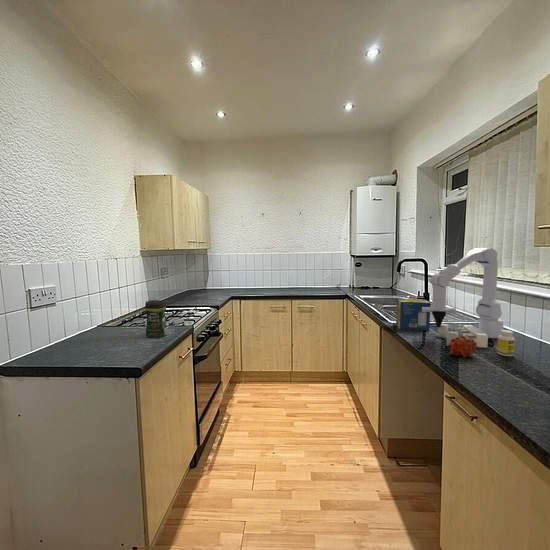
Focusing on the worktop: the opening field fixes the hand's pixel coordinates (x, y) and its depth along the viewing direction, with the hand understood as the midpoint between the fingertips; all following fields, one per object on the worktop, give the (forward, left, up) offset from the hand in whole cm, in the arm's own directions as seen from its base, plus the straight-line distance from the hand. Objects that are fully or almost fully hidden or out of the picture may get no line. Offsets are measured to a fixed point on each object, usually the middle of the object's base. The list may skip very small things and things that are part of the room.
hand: (438, 326), depth 148 cm
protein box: (+8, -19, -6) cm, 22 cm away
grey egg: (-3, +10, -6) cm, 12 cm away
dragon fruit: (-3, +24, -6) cm, 25 cm away
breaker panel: (-14, +1, -6) cm, 15 cm away
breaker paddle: (-13, +3, -4) cm, 14 cm away
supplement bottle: (-21, +18, -6) cm, 28 cm away
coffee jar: (+137, +26, -6) cm, 140 cm away
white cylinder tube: (-3, -5, -6) cm, 8 cm away
